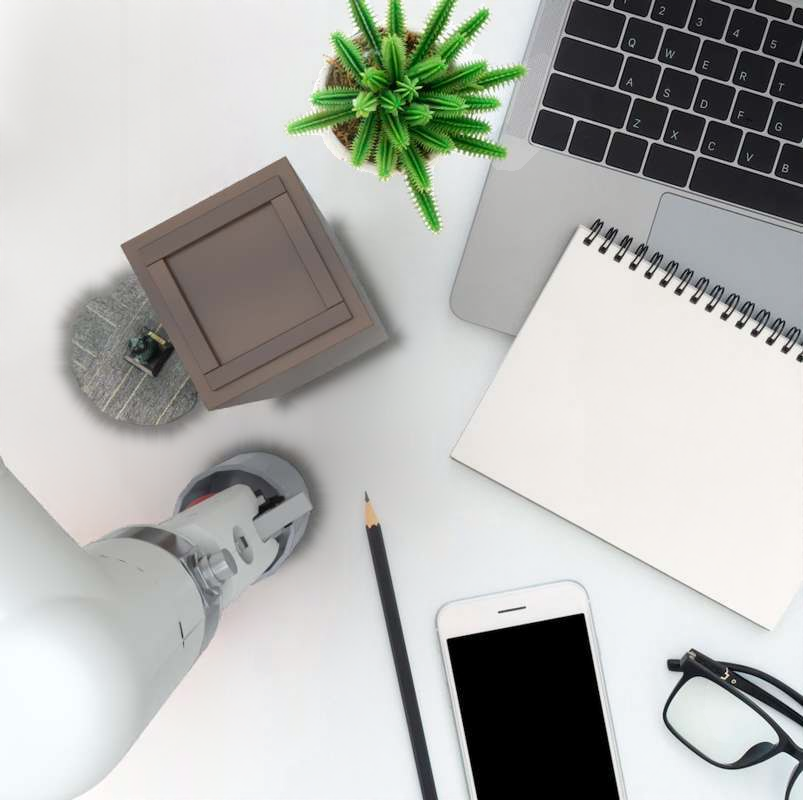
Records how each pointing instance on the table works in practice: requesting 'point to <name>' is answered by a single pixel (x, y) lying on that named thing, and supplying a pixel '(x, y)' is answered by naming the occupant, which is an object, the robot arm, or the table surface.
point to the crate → (255, 290)
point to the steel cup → (257, 474)
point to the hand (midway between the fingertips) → (224, 533)
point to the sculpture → (129, 359)
